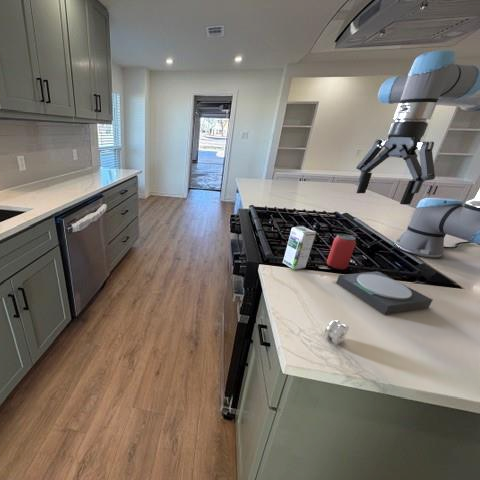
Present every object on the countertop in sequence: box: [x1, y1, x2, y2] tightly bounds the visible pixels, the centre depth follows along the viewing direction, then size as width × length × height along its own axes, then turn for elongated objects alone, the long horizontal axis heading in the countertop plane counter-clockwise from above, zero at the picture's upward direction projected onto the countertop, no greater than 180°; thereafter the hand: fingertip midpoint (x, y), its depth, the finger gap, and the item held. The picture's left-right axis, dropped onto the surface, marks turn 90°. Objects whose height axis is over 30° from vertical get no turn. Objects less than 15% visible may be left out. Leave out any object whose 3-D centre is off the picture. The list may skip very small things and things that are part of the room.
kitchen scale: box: [336, 271, 434, 316], centre depth 78 cm, size 16×16×4 cm
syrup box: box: [282, 226, 317, 271], centre depth 92 cm, size 6×6×14 cm
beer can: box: [326, 233, 357, 270], centre depth 93 cm, size 7×7×12 cm
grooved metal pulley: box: [323, 319, 350, 345], centre depth 60 cm, size 5×3×5 cm, turn 122°
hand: (380, 198), depth 77 cm, fingers open, 13 cm apart
